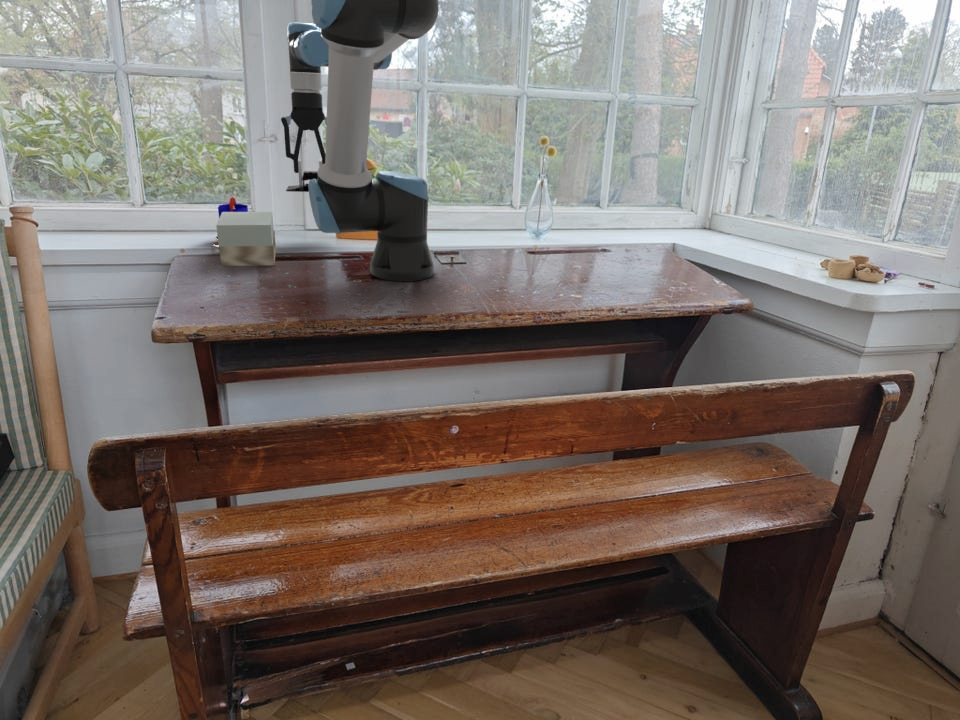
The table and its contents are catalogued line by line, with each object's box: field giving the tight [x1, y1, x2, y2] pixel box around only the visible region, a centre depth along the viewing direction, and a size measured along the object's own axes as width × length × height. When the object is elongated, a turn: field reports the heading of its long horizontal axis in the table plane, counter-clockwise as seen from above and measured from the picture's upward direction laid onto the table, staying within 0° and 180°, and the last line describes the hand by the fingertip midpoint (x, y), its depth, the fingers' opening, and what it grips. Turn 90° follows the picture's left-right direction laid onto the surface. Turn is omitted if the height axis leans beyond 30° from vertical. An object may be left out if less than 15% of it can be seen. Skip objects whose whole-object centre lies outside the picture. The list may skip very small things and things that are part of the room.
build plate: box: [285, 170, 318, 193], centre depth 174 cm, size 12×7×5 cm, turn 100°
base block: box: [219, 231, 277, 267], centre depth 163 cm, size 12×15×5 cm
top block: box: [215, 211, 274, 247], centre depth 161 cm, size 12×15×5 cm
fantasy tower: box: [213, 196, 249, 245], centre depth 175 cm, size 12×12×12 cm
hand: (311, 185), depth 176 cm, fingers closed on build plate, 5 cm apart
